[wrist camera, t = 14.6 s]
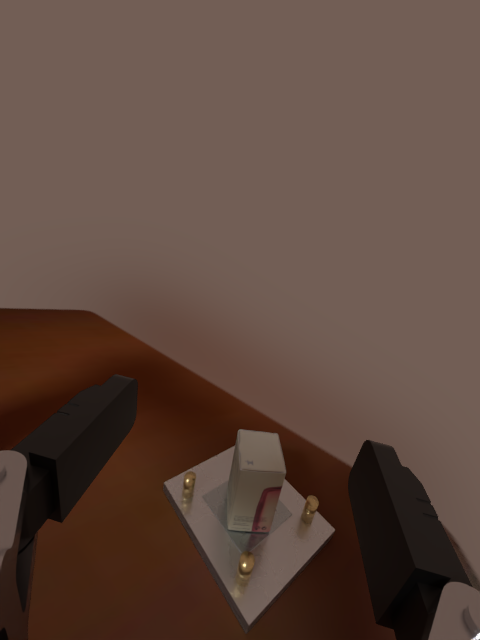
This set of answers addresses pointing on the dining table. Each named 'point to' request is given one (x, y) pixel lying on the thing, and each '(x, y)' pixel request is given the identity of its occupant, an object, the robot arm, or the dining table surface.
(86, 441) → the robot arm
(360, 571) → the dining table surface
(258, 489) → the small box
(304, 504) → the chassis
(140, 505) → the dining table surface
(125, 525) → the dining table surface
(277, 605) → the dining table surface
